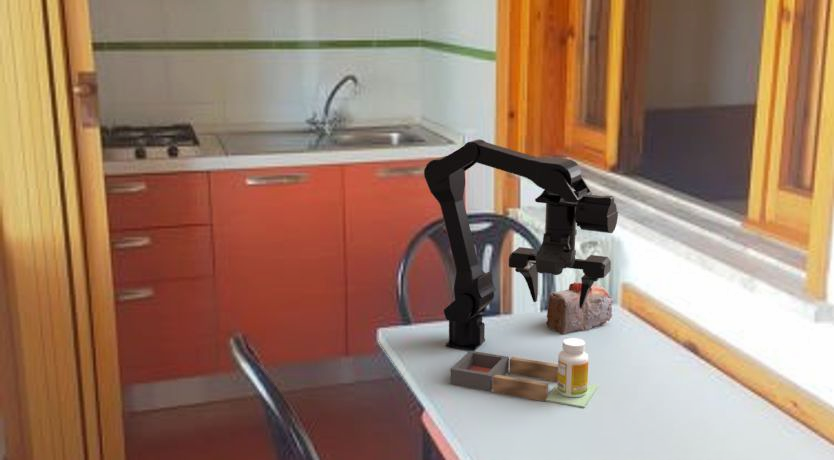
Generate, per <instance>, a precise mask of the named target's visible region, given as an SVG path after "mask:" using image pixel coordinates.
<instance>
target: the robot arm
mask: <svg viewBox="0 0 834 460" xmlns="http://www.w3.org/2000/svg"><path fill="white" fill-rule="evenodd" d="M476 164H480V165H483V166H487V167H490V168H493V169H496V170H499V171H503V172H506V173H510V174H513V175H516V176H518V177H523V178H526V179H527V180H529V181H531V182H532V183H533V184H535V185H536V186H537V187H538V188H540V189H543V190H542V193H540V195H538V197H536V198H535V199H534V202H536V203H538V204H539V203H540V204H545V218H544V219H545V220H544V221H545V222H544V223H545V225H544V226H545V227H544V233H543V238H542V243H541V244H540V247H539V249H538V250H537V248H531V247H521V246H519V247H518V248H516V249H515V250H514V251H512V252H511V253H510V254H509V256H508V267H509V268H512V269H514V271H515V272H516V273H519V274H521V275H522V277H523V278H524V280H525V282H526V284H527V287H528V290H529V293H530V296H531V299H532V301H533V303H536V302H537V301H538V297H539V296H538V295H539V274H550V275H553V276H559V275H561V274H562V273H563V270H565V269H575V270H582V273H583V276H581V283H582V287H581V294H580V301H579V306H580V308H582V307H583V305H584V303H585V301H586V298H587V296H588V293H589V291H590V289H591V286H592V285H594V282H597V281H599V280H600V279H604V278H605V277H607V275H608V274H609V273H610V272H611V270H612V269H611V268H612V266H611V265H612V261H611V259H610V258H609V256H602V255H595V254H589V255H588V257H587V258H586V259H580V258H576V256H577V250H576V235H577V231H578V230H577V229H576V228H577V227H579V228H580V230H583V231H588V232H589V231H590V232H596V233H598V232H599V233H603V234H604V233H606V234H612V233H614V231H615V229H616V227H617V224H618V220H619V219H618V217H619V211H618V209H617V205H616V203H615V196H613V195H596V194H593V192H592V190H591V188H590V186H589V185H588V184H587V182H586V181H585V179H584V178H583V175H582V170H581V168H580V166H579V164H578V162H576V161H574V160H573V159H569V158H568V159H567V158H561V157H560V158H558V157H540V156H533V155H531V154H528V153H524V152H520V151H517V150H513V149H510V148H507V147H503V146H500V145H496V144H493V143H489V142H487V141H485V140H483V139H479V138H478V139H475V140H471V141H468V142H466V143H465V144H464V145H462V146H461V147H460V148H458V149H457V150H456V151H453V152H452V153H450V154H448V155H444V156H441V157H439V158H436V159H435V158H434V159H432V160H430V161H429V162H428V163H427V164H426V165H425V168H423V176H424V180H425V182H426V184H427V188H428V190H429V192H430V194H431V195H432V196H433V198H435V200H436V201H437V202H438V203H439V205H440V209H441V215H442V218H443V222H444V227H445V230H446V235H447V240H448V242H449V247H450V251H451V255H452V260H453V263H454V268H455V277H454V278H455V279H454V283H453V292H454V293H453V295H454V296H453V297H454V300H453V301H452V302H451V303H450V304H449V305H448V306H447V307H445V308H444V309H443V313H444V317H445V320H446V321H448V341H447V342H445V347H447V348H448V347H449V348H455V349H461V350H467V351H475V350H477V349H478V348H479V347H481V345H482V344H483V343H484V342H486V338H485V325H486V324H485V322H483V315H482V313H485V312H486V308H487V307H488V306H489V305H491V303H492V301H493V300H494V298H495V291H496V290H497V288H496V287H495V285H494V281H493V274H492V272H491V271H488V272H485V271H484V270H483V268H482V267H481V266H480V264H479V260H478V256H477V252H476V248H475V244H474V238H473V235H472V230H471V226H470V222H469V219H468V214H467V210H466V209H467V208H466V205H465V201H464V193H465V187H466V173H465V172H466V171H467V170H469V169H470V168H472V167H474V165H476Z"/></svg>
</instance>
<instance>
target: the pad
mask: <svg viewBox="0 0 834 460" xmlns="http://www.w3.org/2000/svg"><path fill="white" fill-rule="evenodd" d="M598 388H599V384H594V383H589V382H588V387H587V393H586V394H585V395H584V396H581V397H566V396H563V395H561V394H560V393H559V392H558V390H557V385H556V386H555V387H554V388H553V389H552V391H551V392H550V394H548V397H547V399H546V401H545V402H549V403H554V404H559V405H560V404H561V405H566V406H572V407H577V408H582V409H584V408H586V406H587V405H588V404H589V402H590V400H591V399H592V397H593V396H594V394H595V393H596V391H597V390H598Z"/></svg>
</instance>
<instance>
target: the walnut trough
mask: <svg viewBox="0 0 834 460" xmlns="http://www.w3.org/2000/svg"><path fill="white" fill-rule="evenodd" d="M509 375H515V376H522V377H527V378H532V379H538V380H539V379H540V380H544V381H545V380H546V381H551V382H557V383H558V363H551V362H546V361H541V360H533V359H526V358H521V357H514V356H511V357H509ZM492 393H497V394H502V395H507V396H512V397H519V398H523V399H524V398H525V399H529V400H536V401H540V402H541V401H542V402H547V401H546V399H547V397H548V396H549V394H548V393H549V383H548V382H542V381H537V380H529V379H524V378H519V377H512V376H506V375H505V376H502V375H496V374H495V375H494V376H493V389H492Z"/></svg>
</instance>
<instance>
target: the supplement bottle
mask: <svg viewBox="0 0 834 460" xmlns="http://www.w3.org/2000/svg"><path fill="white" fill-rule="evenodd" d="M585 350H586V342H585V341H584V339H581V338H577V337H572V338H571V337H570V338H565V339H563V340H562V350H561V351H560V352H559V353H558V356H557V357H558V358H557V359H558V360H557V361H558V362H557V364H558V382H557V385H556V386H557V390H558V392H559V393H560V394H561V395H563V396H566V397H581V396H584V395H585V394H586V393H587V387H588V383H589V382H588V381H589V355H588V353H586V352H585Z"/></svg>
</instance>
